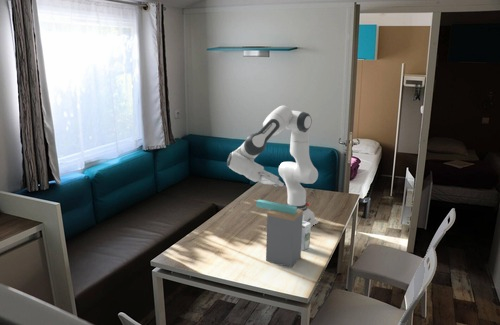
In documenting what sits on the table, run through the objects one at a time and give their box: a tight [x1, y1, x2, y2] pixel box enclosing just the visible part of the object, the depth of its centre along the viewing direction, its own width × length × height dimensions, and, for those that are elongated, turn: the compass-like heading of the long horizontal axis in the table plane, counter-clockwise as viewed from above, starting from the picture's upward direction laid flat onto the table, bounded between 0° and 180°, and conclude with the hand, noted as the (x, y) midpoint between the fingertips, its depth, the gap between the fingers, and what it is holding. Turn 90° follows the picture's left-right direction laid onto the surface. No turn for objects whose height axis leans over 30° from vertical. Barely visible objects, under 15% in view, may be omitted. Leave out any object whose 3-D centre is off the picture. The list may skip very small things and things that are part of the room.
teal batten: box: [255, 199, 297, 214], centre depth 214 cm, size 21×3×3 cm, turn 62°
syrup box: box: [301, 221, 312, 252], centre depth 230 cm, size 6×6×14 cm
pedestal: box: [265, 209, 303, 268], centre depth 215 cm, size 14×12×26 cm
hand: (280, 185), depth 217 cm, fingers open, 8 cm apart
